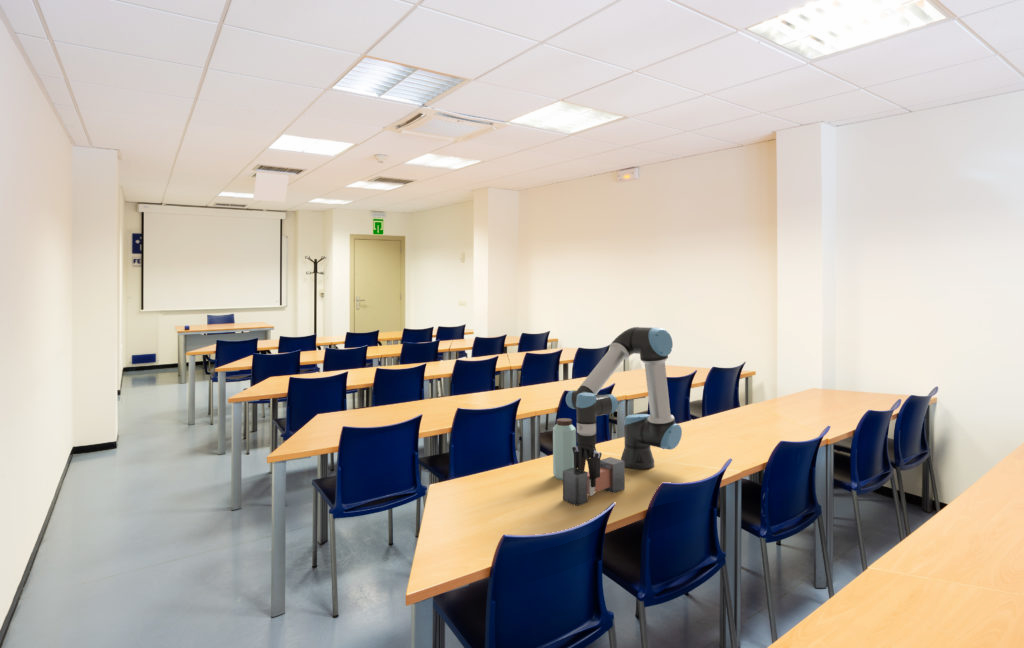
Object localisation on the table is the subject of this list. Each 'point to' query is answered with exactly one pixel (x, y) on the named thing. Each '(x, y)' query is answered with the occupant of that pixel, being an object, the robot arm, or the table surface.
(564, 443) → the water bottle
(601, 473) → the pink rectangular block
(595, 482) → the robot arm
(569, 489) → the socket
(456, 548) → the table surface
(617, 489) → the sleeve
